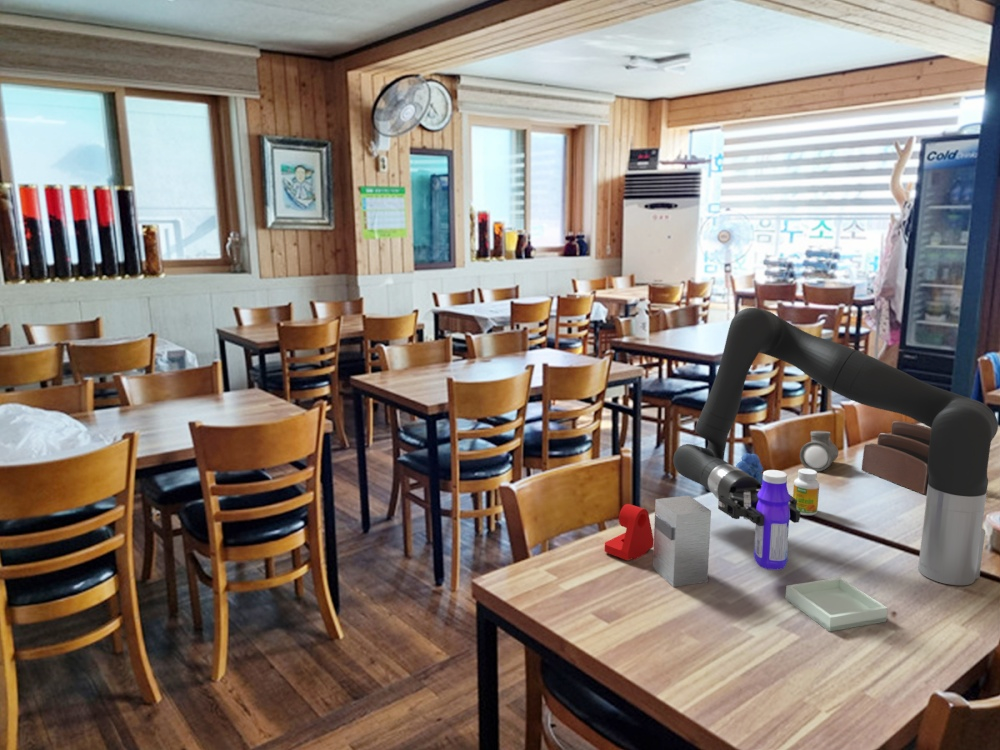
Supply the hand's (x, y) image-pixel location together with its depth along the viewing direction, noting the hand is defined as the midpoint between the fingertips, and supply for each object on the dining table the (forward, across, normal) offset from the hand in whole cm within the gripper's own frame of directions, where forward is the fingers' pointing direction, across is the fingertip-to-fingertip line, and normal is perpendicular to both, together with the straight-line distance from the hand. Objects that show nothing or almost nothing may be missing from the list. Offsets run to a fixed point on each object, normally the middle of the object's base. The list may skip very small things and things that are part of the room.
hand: (779, 519), depth 131 cm
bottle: (-2, 0, +10) cm, 10 cm away
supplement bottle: (-32, +26, +14) cm, 44 cm away
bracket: (-20, -21, +13) cm, 32 cm away
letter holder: (-46, +64, +14) cm, 80 cm away
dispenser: (-8, -15, +13) cm, 22 cm away
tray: (+9, +6, +14) cm, 17 cm away
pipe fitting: (-60, +49, +14) cm, 79 cm away
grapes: (-40, +18, +14) cm, 46 cm away
